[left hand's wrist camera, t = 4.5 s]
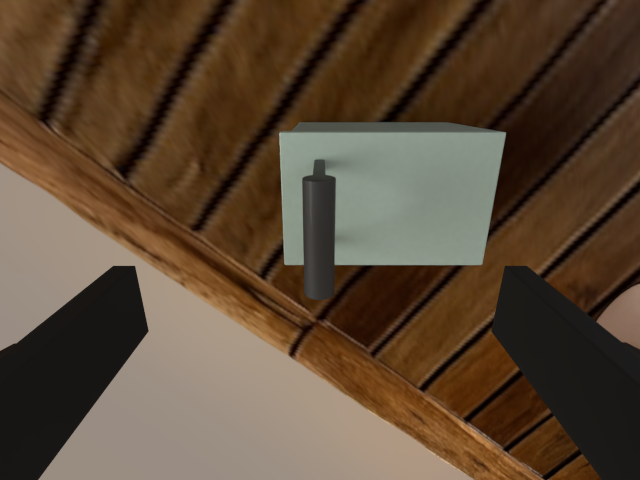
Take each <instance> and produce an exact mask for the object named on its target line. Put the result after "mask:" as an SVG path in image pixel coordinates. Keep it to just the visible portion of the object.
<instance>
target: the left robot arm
mask: <svg viewBox="0 0 640 480" xmlns="http://www.w3.org/2000/svg"><path fill="white" fill-rule="evenodd" d="M147 333H148V326H147V322H146V317H145V312H144V307H143V302H142V298H141V293H140V288H139V283H138V278H137V274H136V269H135V266H113V267H112V268H110V269H109V270H108V271H106V272H105V273H104V274H103V275H101V276H100V277H99V278H98V279H97V280H95V281H94V282H93V283H92V284H90V285H89V286H88V287H86V288H85V289H84V290H83V291H82V292H80V293H79V294H78V295H77V296H75V297H74V298H73V299H71V300H70V301H69V302H68V303H66V304H65V305H64V306H63V307H62V308H60V309H59V310H58V311H57V312H55V313H54V314H53V315H51V316H50V317H49V318H48V319H47V320H45V321H44V322H43V323H41V324H40V325H39V326H38V327H36V328H35V329H34V330H33V331H32V332H30V333H29V334H28V335H27V336H25V337H24V338H23V339H22V340H20V341H19V342H18V343H17V344H13V345H11V346H9V347H7V348H5V349H3V350H1V351H0V480H38V479H39V478H40V476H41V475H42V474H43V472H44V471H45V470H46V468H47V467H48V466H49V464H50V463H51V462H52V460H53V459H54V458H55V456H56V455H57V453H58V452H59V451H60V450H61V448H62V447H63V446H64V444H65V443H66V441H67V440H68V439H69V437H70V436H71V435H72V433H73V432H74V431H75V429H76V428H77V427H78V425H79V424H80V423H81V421H82V420H83V419H84V417H85V416H86V415H87V413H88V412H89V411H90V409H91V408H92V407H93V405H94V404H95V403H96V401H97V400H98V398H99V397H100V396H101V394H102V393H103V392H104V390H105V389H106V388H107V386H108V385H109V384H110V382H111V381H112V380H113V378H114V377H115V376H116V374H117V373H118V372H119V370H120V369H121V367H122V366H123V365H124V364H125V362H126V361H127V359H128V358H129V357H130V355H131V354H132V353H133V351H134V350H135V349H136V347H137V346H138V345H139V343H140V342H141V341H142V339H143V338H144V337H145V335H146V334H147ZM492 333H493V334H494V335H495V337H496V338H497V339H498V341H499V342H500V343H501V345H502V346H503V347H504V349H505V350H506V351H507V353H508V354H509V355H510V357H511V358H512V359H513V361H514V362H515V364H516V365H517V366H518V368H519V369H520V370H521V372H522V373H523V374H524V376H525V377H526V378H527V380H528V381H529V382H530V384H531V385H532V386H533V388H534V389H535V390H536V392H537V393H538V394H539V396H540V397H541V398H542V400H543V401H544V403H545V404H546V405H547V407H548V408H549V409H550V411H551V412H552V413H553V415H554V416H555V417H556V419H557V420H558V421H559V423H560V424H561V425H562V427H563V428H564V429H565V431H566V432H567V433H568V435H569V436H570V437H571V439H572V440H573V442H574V443H575V444H576V446H577V447H578V448H579V450H580V451H581V452H582V454H583V455H584V456H585V458H586V459H587V460H588V462H589V463H590V464H591V466H592V467H593V468H594V470H595V471H596V472H597V474H598V475H599V476H600V478H601V479H602V480H640V349H638V348H636V347H634V346H632V345H630V344H628V343H627V342H621V341H620V340H618V339H617V338H616V337H615V336H613V335H612V334H611V333H610V332H608V331H607V330H606V329H605V328H603V327H602V326H601V325H600V324H599V323H597V322H596V321H595V320H594V319H592V318H591V317H590V316H589V315H587V314H586V313H585V312H584V311H582V310H581V309H580V308H579V307H577V306H576V305H575V304H574V303H572V302H571V301H570V300H569V299H567V298H566V297H565V296H564V295H562V294H561V293H560V292H559V291H557V290H556V289H555V288H554V287H552V286H551V285H550V284H549V283H547V282H546V281H545V280H544V279H542V278H541V277H540V276H539V275H537V274H536V273H535V272H534V271H532V270H531V269H530V268H529V267H527V266H505V269H504V274H503V278H502V283H501V288H500V293H499V297H498V302H497V307H496V312H495V317H494V321H493V326H492Z"/></svg>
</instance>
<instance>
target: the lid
mask: <svg viewBox="0 0 640 480" xmlns="http://www.w3.org/2000/svg"><path fill="white" fill-rule="evenodd" d="M505 137H506V132H501V131H281V132H280V133H279V138H280V163H281V188H282V213H283V238H284V263H285V265H304V293H305V295H306V296H307V297H308V298H311V299H315V300H324V299H328V298H330V297H331V296H333V294H334V270H335V265H482V263H483V257H484V252H485V246H486V241H487V235H488V230H489V224H490V219H491V214H492V208H493V203H494V197H495V192H496V186H497V181H498V175H499V170H500V164H501V159H502V153H503V148H504V142H505Z"/></svg>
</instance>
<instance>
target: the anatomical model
mask: <svg viewBox="0 0 640 480" xmlns="http://www.w3.org/2000/svg"><path fill="white" fill-rule="evenodd" d="M596 322H597V323H599V324H600V325H601V326H602V327H603V328H605V329H606V330H607V331H608V332H610V333H611V334H612V335H613V336H615V337H616V338H617V339H618V340H620V341H621V342H627V343H628V344H630V345H632V346H634V347H636V348H638V349H640V284H637V285H635V286H633V287H631V288H629V289H627V290H626V291H625V292H623V293H622V294H621V295H619V296H618V297H617V298H616V299H615V300H614V301H613V302H612V303H611V304H610V305H609V306H608V307H607V308H606V309H605V311H604V312H603V313H602V314H601V316H600V317H599V318H598V320H597V321H596Z"/></svg>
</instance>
